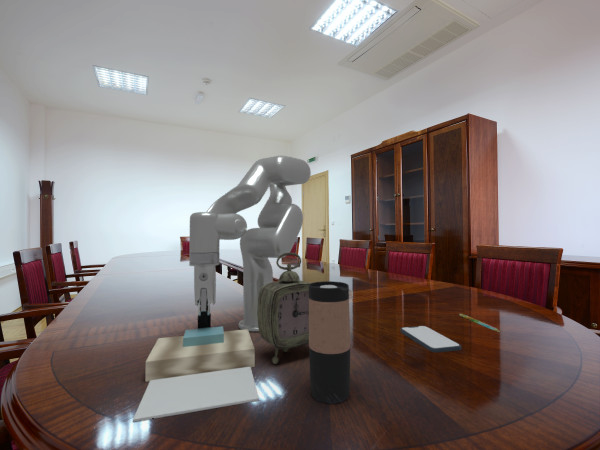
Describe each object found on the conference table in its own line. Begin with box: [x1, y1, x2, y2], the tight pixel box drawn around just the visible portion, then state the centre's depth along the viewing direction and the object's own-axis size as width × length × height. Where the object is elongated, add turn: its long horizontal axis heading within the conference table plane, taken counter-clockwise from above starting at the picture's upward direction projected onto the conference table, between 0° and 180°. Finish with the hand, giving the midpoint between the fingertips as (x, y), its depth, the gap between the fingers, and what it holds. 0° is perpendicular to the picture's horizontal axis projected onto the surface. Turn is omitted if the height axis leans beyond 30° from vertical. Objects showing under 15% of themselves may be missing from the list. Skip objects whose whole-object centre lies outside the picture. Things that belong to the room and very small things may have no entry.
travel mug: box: [308, 280, 351, 405], centre depth 54 cm, size 8×8×20 cm
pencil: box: [458, 313, 501, 333], centre depth 94 cm, size 1×1×18 cm
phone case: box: [400, 325, 462, 353], centre depth 80 cm, size 9×2×16 cm
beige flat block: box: [145, 329, 256, 383], centre depth 69 cm, size 22×14×4 cm, turn 106°
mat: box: [132, 367, 260, 423], centre depth 55 cm, size 20×13×1 cm, turn 106°
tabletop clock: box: [257, 251, 312, 365], centre depth 72 cm, size 14×9×25 cm, turn 122°
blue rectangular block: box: [183, 325, 225, 347], centre depth 71 cm, size 9×6×2 cm, turn 106°
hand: (204, 330), depth 76 cm, fingers closed
